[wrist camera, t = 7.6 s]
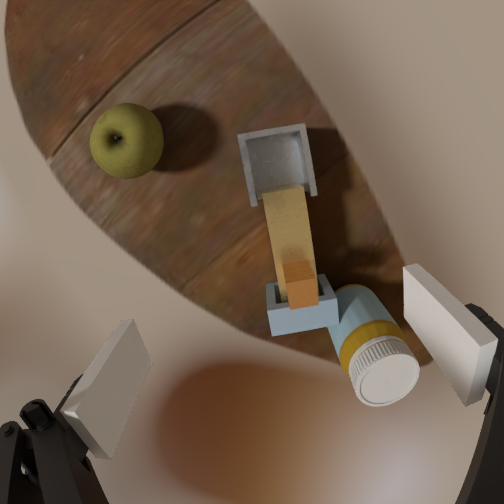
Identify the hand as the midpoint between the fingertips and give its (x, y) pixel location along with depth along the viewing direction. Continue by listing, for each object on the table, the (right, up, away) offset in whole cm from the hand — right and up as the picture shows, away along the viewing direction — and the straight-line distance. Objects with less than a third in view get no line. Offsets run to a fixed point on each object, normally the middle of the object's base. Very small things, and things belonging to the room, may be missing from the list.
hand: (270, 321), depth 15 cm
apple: (-13, +16, +19) cm, 28 cm away
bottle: (+11, -4, +25) cm, 27 cm away
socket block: (+5, -1, +24) cm, 24 cm away
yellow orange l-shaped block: (+3, +4, +21) cm, 22 cm away
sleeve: (+2, +13, +20) cm, 23 cm away
